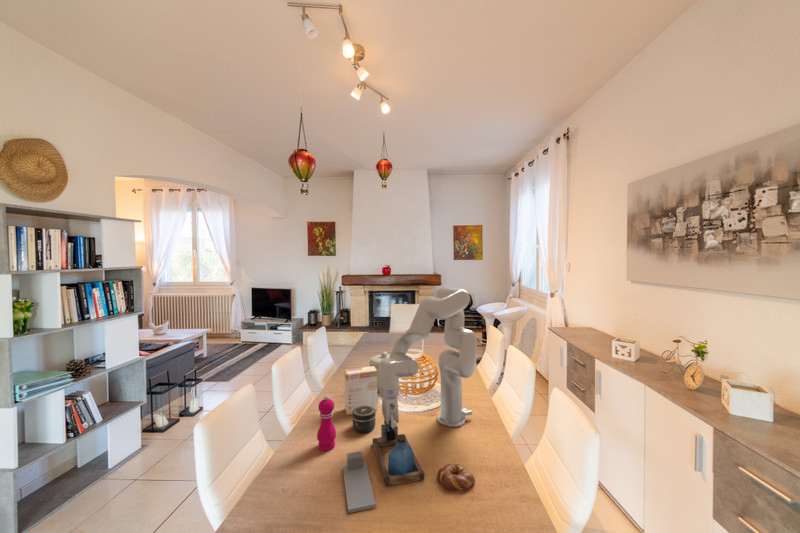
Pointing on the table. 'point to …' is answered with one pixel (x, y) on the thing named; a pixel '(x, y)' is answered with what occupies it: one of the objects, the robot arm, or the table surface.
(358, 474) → the grey l-shaped piece
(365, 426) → the jar
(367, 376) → the coffeecake box
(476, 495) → the table surface
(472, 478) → the pretzel
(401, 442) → the perfume bottle
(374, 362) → the canister
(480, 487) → the table surface
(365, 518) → the table surface
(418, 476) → the rectangular wooden frame
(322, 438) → the pepper mill
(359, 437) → the table surface
